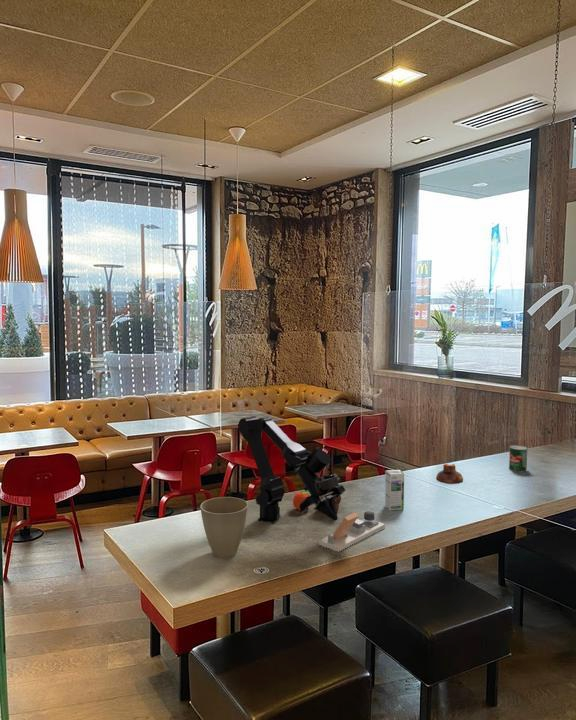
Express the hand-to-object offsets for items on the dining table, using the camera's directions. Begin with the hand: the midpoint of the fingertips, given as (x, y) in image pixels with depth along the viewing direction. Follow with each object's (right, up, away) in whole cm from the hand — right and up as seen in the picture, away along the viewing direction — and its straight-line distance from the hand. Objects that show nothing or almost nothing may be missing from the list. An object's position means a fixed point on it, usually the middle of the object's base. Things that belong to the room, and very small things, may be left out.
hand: (336, 520), depth 188 cm
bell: (+58, -2, +71) cm, 91 cm away
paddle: (+1, -5, 0) cm, 5 cm away
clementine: (-10, -5, +32) cm, 34 cm away
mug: (+1, -5, +29) cm, 30 cm away
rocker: (+7, -3, +7) cm, 11 cm away
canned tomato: (+95, 0, +86) cm, 128 cm away
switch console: (+6, -7, +6) cm, 12 cm away
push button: (+13, -3, +13) cm, 19 cm away
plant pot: (-36, -9, -7) cm, 38 cm away
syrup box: (+25, -5, +34) cm, 43 cm away
